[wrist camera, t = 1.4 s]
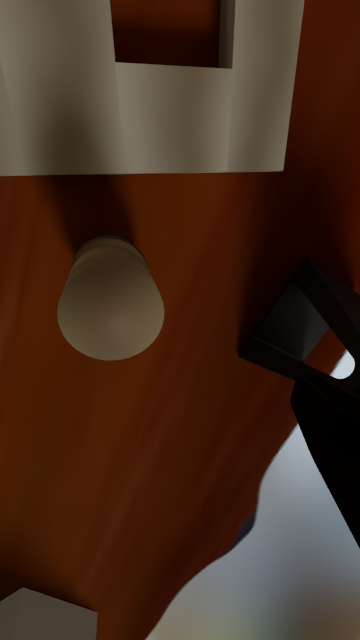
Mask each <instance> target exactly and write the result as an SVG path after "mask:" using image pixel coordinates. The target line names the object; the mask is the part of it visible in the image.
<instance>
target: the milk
mask: <svg viewBox="0 0 360 640" xmlns="http://www.w3.org/2000/svg"><path fill="white" fill-rule="evenodd" d="M96 628H97V612H95V611H92V610H89V609H86V608H83V607H80V606H77V605H74V604H71V603H68V602H65V601H62V600H59V599H56V598H53V597H50V596H47V595H44V594H41V593H38V592H36V591H33V590H30V589H27V588H24V587H22V588H21V589H19V590H18V591H16V592H15V593H13V594H11V595H10V596H8V597H7V598H5V599H4V600H2V601H0V640H96Z"/></svg>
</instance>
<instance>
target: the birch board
mask: <svg viewBox="0 0 360 640" xmlns="http://www.w3.org/2000/svg"><path fill="white" fill-rule="evenodd" d="M303 8H304V0H221V2H220V33H219V64H218V68H206V67H189V66H171V65H154V64H137V63H119V62H115V53H114V42H113V31H112V20H111V9H110V0H0V176H35V175H97V174H159V173H222V172H272V171H283V168H284V160H285V152H286V144H287V136H288V128H289V120H290V112H291V104H292V96H293V88H294V80H295V72H296V64H297V56H298V48H299V40H300V32H301V24H302V16H303Z"/></svg>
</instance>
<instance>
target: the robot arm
mask: <svg viewBox="0 0 360 640" xmlns="http://www.w3.org/2000/svg"><path fill="white" fill-rule="evenodd" d="M290 401H291V406H292V409H293V412H294V414H295V416H296V419H297V421H298V424H299V426H300V429H301V431H302V433H303V436H304V439H305V441H306V443H307V446H308V449H309V451H310V453H311V455H312V458H313V460H314V462H315V464H316V466H317V468H318V469H319V472H320V473H321V475H322V477H323V479H324V481H325V483H326V485H327V487H328V489H329V491H330V492H331V494H332V496H333V498H334V500H335V502H336V504H337V506H338V508H339V510H340V512H341V514H342V515H343V517H344V519H345V521H346V523H347V525H348V527H349V529H350V531H351V533H352V535H353V537H354V539H355V540H356V542H357V544H358V546H359V548H360V399H358V398H356V397H354V396H353V395H351V394H349V393H347V392H345V391H343V390H341V389H339V388H338V387H336V386H334V385H332V384H330V383H328V382H326V381H324V380H322V379H321V378H319V377H317V376H315V375H300V376H298V377H297V378H296V381H295V384H294V388H293V391H292V395H291V400H290Z"/></svg>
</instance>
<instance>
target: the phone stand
mask: <svg viewBox="0 0 360 640" xmlns="http://www.w3.org/2000/svg"><path fill="white" fill-rule="evenodd" d="M329 328H331V329H332V331H333V332H334V333H335V335H336V336H337V337H338V339H339V340H340V341H341V342H342V344H343V345H344V346H345V348H346V349H347V350H348V352H349V353H350V354H351V355H352V357H353V358H354V361H355V368H354V371H353V373H352V374H351V375H350V376H348V377H347V378H344V379H336V378H334V377H332V376H330V375H327V374H325V373H323V372H321V371H319V370H317V369H315V368H312V367H310V366H308V365H306V364H304V359H305V358H306V357H307V356H308V354H309V353H310V352H311V351H312V349H313V348H314V347H315V346H316V344H317V343H318V342H319V340H320V339H321V338H322V337H323V335H324V334H325V333H326V332H327V330H328V329H329ZM238 356H239V357H240V358H243V359H245V360H247V361H249V362H252V363H254V364H256V365H259V366H261V367H263V368H266V369H268V370H270V371H273V372H275V373H277V374H280V375H282V376H284V377H286V378H289V379H291V380H293V381H296V378H297V377H298V376H300V375H315V376H317V377H319V378H321V379H322V380H324V381H326V382H328V383H330V384H332V385H334V386H336V387H338V388H339V389H341V390H343V391H345V392H347V393H349V394H351V395H353V396H354V397H356V398H358V399H360V296H359V294H358V293H356V292H355V291H354V290H352V289H351V288H349V287H348V286H346V285H345V284H344V283H342V282H341V281H339V280H338V279H336V278H335V277H334V276H332V275H331V274H329V273H328V272H326V271H325V270H324V269H322V268H321V267H319V266H318V265H316V264H315V263H314V262H312V261H311V260H309V259H304V260H303V261H302V262H301V264H300V265H299V267H298V268H297V269H296V271H295V272H294V274H293V275H292V277H291V278H290V279H289V281H288V282H287V284H286V285H285V287H284V288H283V289H282V291H281V292H280V294H279V295H278V296H277V298H276V299H275V301H274V302H273V304H272V305H271V309H270V310H269V311H267V312H266V314H265V315H264V316H263V318H262V319H261V321H260V322H259V324H258V325H257V326H256V328H255V329H254V331H253V332H252V333H251V335H250V336H249V338H248V339H247V341H246V342H245V343H244V345H243V346H242V348H241V349H240V351H239V353H238Z"/></svg>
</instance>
